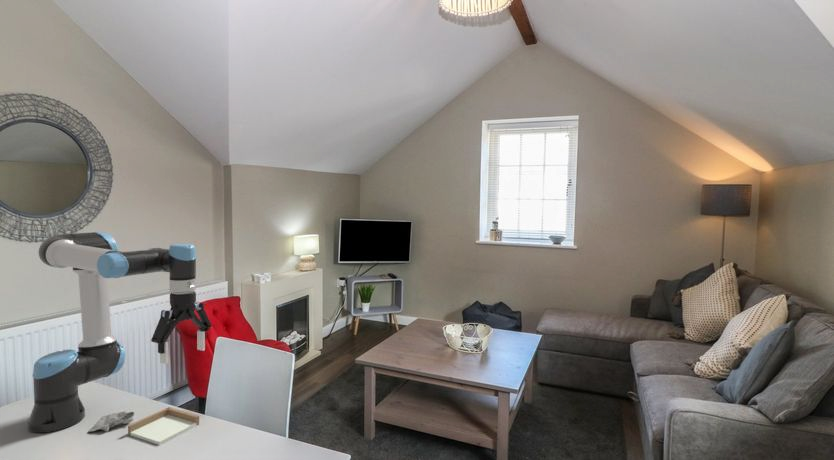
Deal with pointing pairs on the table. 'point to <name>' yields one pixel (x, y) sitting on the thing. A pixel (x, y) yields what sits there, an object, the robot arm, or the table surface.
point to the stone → (113, 420)
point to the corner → (163, 425)
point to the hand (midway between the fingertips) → (183, 356)
